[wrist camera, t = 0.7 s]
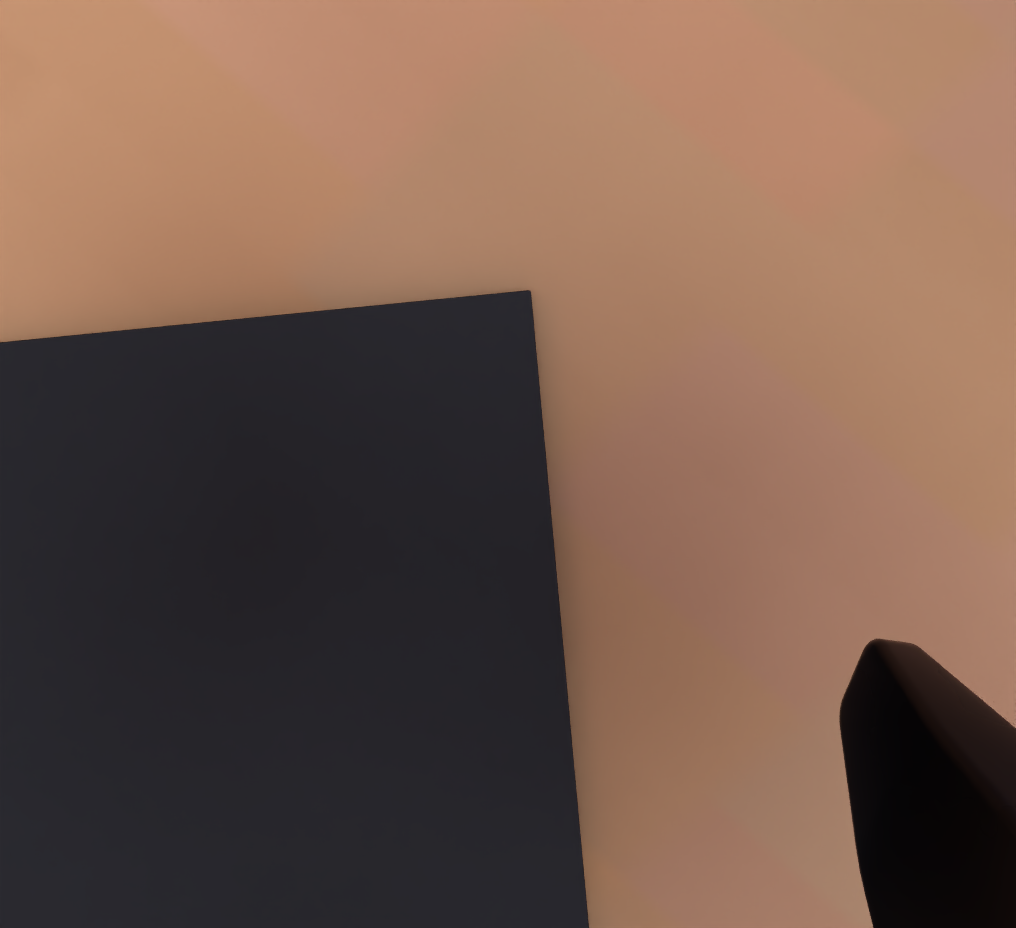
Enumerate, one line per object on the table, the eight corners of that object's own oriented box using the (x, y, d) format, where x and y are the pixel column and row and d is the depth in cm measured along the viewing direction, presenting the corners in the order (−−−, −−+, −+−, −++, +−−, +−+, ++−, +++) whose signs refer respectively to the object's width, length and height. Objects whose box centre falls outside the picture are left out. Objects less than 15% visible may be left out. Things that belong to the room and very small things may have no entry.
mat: (594, 990, 24) (595, 1006, 23) (-150, 1043, 25) (-167, 1060, 24) (530, 291, 22) (530, 289, 21) (-285, 371, 23) (-308, 372, 22)
